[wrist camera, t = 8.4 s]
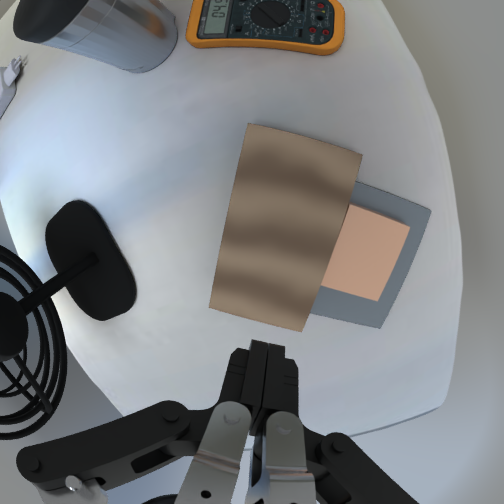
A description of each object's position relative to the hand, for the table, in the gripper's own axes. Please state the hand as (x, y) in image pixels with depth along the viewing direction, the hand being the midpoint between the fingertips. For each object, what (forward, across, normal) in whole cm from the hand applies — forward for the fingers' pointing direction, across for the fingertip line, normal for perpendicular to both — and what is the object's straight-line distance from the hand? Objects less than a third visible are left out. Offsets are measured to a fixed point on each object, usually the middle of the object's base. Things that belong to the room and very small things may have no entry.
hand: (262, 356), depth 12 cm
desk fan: (+23, +29, +14) cm, 40 cm away
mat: (+22, -12, +2) cm, 26 cm away
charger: (+25, +58, -18) cm, 66 cm away
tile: (+22, -11, 0) cm, 24 cm away
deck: (+22, 0, +1) cm, 23 cm away
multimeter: (+24, +7, -24) cm, 35 cm away
